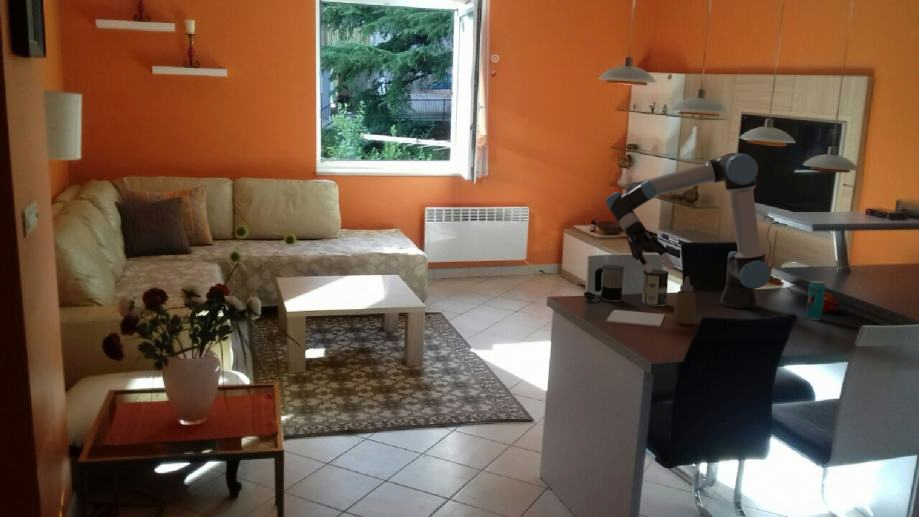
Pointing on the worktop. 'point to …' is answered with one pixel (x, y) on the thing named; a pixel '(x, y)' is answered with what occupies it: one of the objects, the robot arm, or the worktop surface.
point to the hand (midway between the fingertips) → (661, 269)
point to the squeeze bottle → (685, 304)
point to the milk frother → (608, 282)
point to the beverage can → (815, 300)
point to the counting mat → (636, 318)
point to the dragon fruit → (829, 303)
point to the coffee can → (655, 287)
